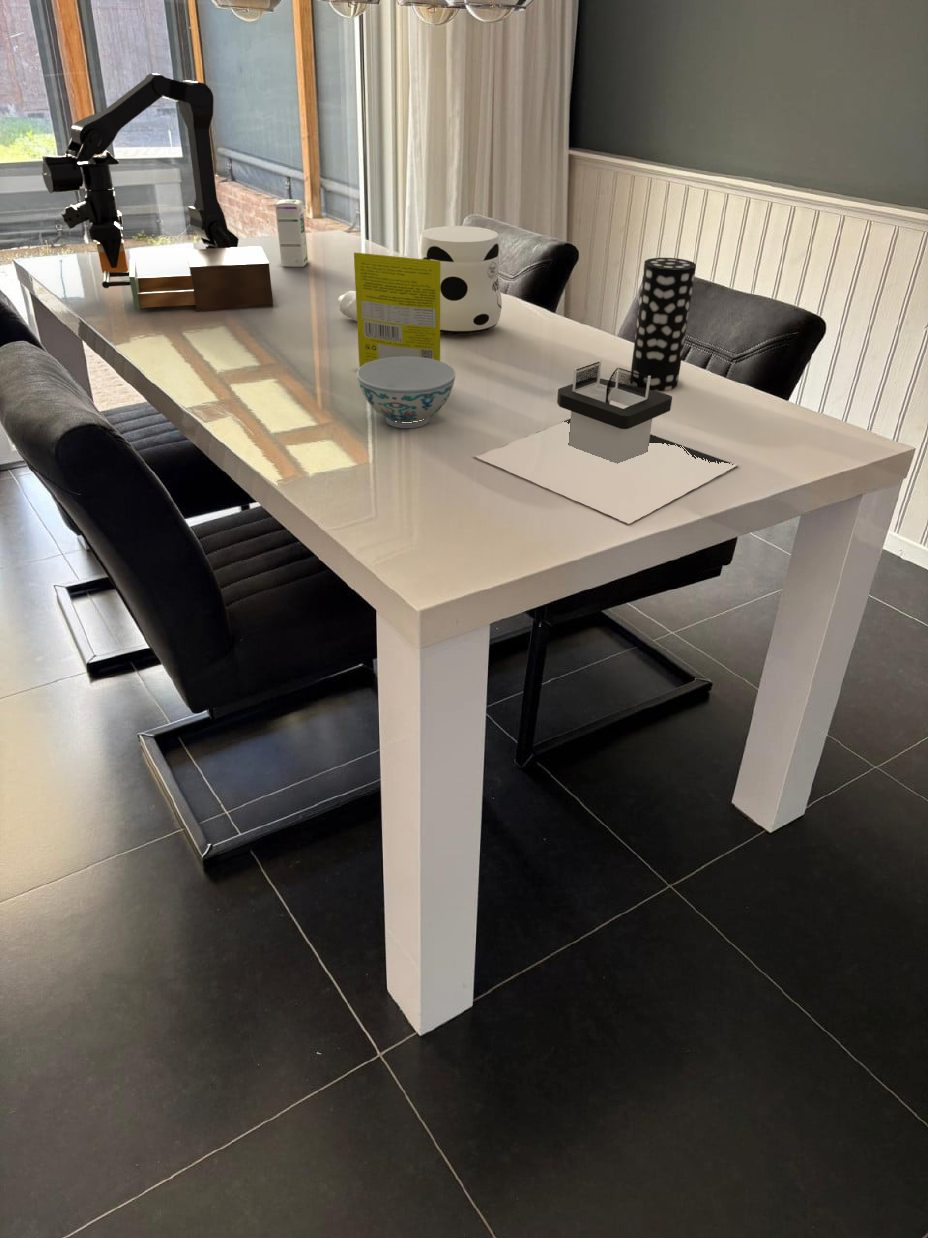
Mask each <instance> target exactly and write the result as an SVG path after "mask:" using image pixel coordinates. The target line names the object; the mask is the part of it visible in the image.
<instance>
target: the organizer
mask: <svg viewBox="0 0 928 1238" xmlns="http://www.w3.org/2000/svg"><path fill="white" fill-rule="evenodd" d="M186 254H187V261H188V268H189V275H191V276H192V283H193V290H194V296H195V303H196V305H195V310H196V312H209V311H210V312H211V311H225V310H227V311H228V310H244V309H261V308H273V307H274V301H273V300H274V299H273V288H272V279H271V270H270V263H269V260H268V258H267V256H266V254H265V252H264V250H263V248H262V246H243V247H239V246H238V247H237V248H216V249H206V248H197V249H186Z"/></svg>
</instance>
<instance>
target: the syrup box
mask: <svg viewBox="0 0 928 1238" xmlns="http://www.w3.org/2000/svg"><path fill="white" fill-rule="evenodd" d="M303 203H304V202H303V200H301V199H292V198H291V199H279V201H277V203H275V205H274V206H275V215H276V226H277V235H278V236H277V237H278V244H279V252H280V253H279V254H280V262H281V266H282V267H289V268H291V267H292V268H294V267H295V268H303V267H305V265H306V264H307V263H308V262H309V257H308V246H307V245H308V244H307V234H306V224H305V214H304V205H303Z"/></svg>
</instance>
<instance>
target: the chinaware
mask: <svg viewBox="0 0 928 1238" xmlns="http://www.w3.org/2000/svg"><path fill="white" fill-rule="evenodd" d="M356 377H357V380H358V385H359V387H360V390H361V392H362V395H363V396H364V399H365V400H366V402H367V403H368V404H369V406H370V407H371V408H372V409H373V410H374V411H375V412H376V413H378V414H379V415H381V416H382V417H384V418H385V422H386V423H387V425H389V426H392V427H394V428H395V427H396V428H400V429H413V428H419V427H422V426H424V425H426V424H427V423H428V422H429V418H430V417H432V416H433V415H435V414H436V413H437V412H438V411H439V410H440V409H442V407H443V406H444V405H445V404H446V402H447V401H448V399H449V397H450V395H451V392H452V390H453V387H454V384H455V379H456V371H455V369H454V368H453V367H452V366H451V365H449V364H448V363H446V362H443V361H442V360H440V361H438V360H434V359H429V358H423V357H390V358H383V359H378V360H374V361H371V362H369V363H366V364H364V365H363V366H361V367H360V368H358V369H357V372H356ZM423 419H424V420H423ZM419 420H422V421H419ZM395 421H397V422H395ZM413 421H418V422H413ZM402 422H412V423H402Z"/></svg>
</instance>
